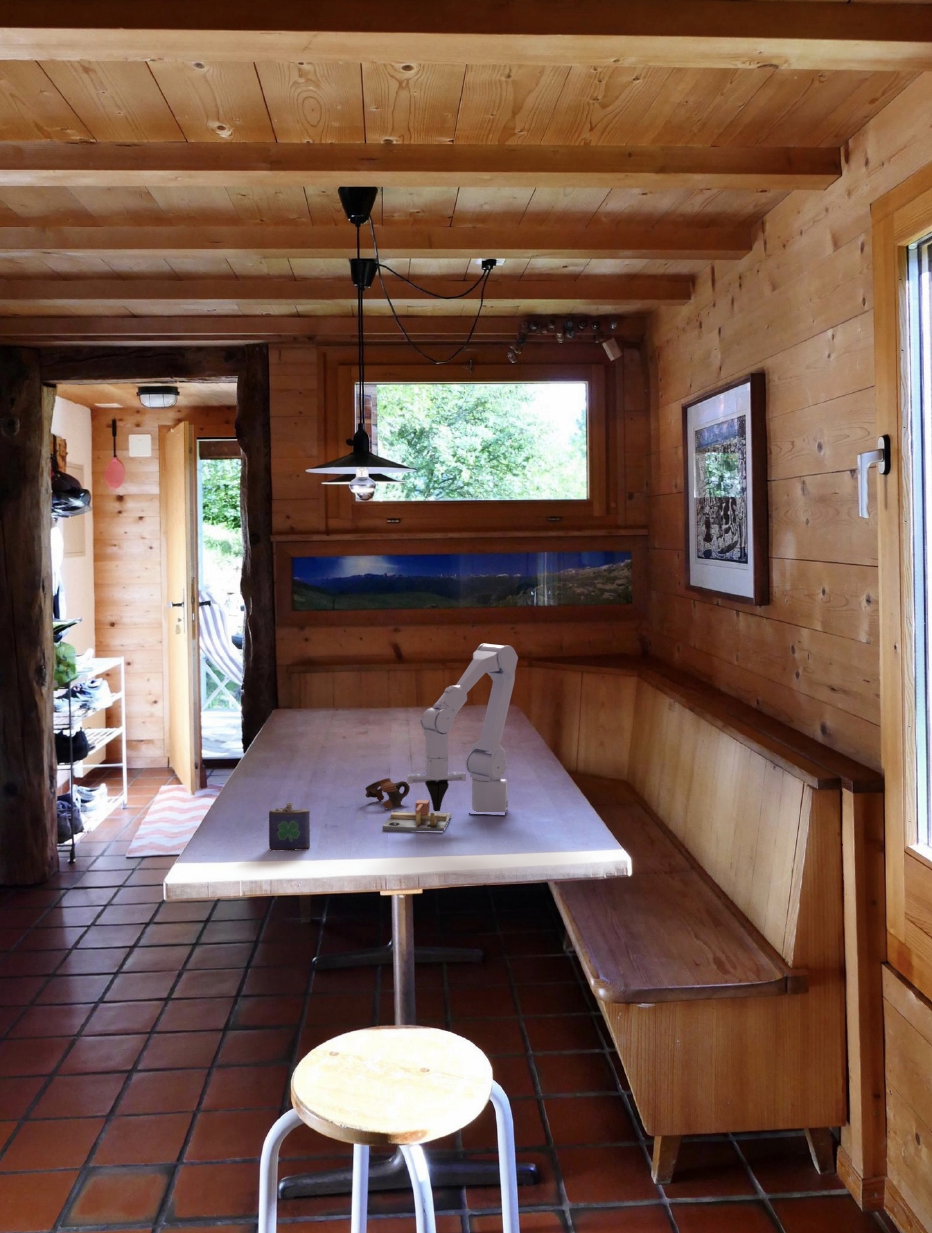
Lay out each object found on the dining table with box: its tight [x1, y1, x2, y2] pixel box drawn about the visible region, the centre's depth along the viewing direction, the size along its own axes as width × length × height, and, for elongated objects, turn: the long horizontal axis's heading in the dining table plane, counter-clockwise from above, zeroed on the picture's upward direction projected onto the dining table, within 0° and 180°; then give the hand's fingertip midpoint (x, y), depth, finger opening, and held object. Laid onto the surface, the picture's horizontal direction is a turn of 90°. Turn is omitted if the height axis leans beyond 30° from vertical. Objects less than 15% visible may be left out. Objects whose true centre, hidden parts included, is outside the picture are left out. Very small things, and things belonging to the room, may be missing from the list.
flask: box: [268, 802, 311, 851], centre depth 216 cm, size 9×3×11 cm, turn 95°
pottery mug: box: [365, 777, 411, 809], centre depth 256 cm, size 12×10×8 cm
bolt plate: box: [382, 810, 453, 832], centre depth 237 cm, size 15×14×1 cm
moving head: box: [414, 799, 431, 824], centre depth 234 cm, size 3×9×4 cm, turn 173°
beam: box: [390, 811, 447, 826], centre depth 235 cm, size 14×7×3 cm, turn 83°
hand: (436, 810), depth 237 cm, fingers closed
